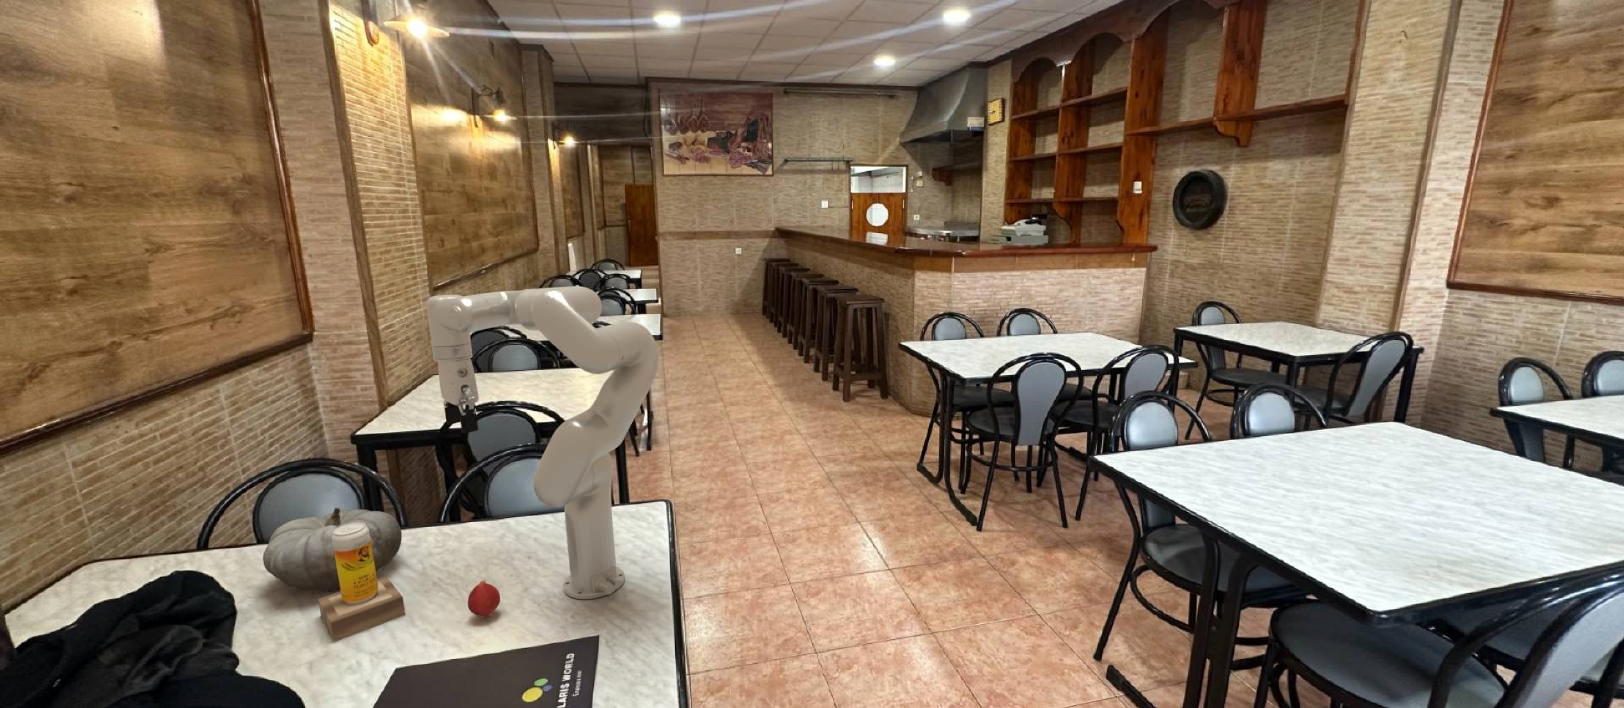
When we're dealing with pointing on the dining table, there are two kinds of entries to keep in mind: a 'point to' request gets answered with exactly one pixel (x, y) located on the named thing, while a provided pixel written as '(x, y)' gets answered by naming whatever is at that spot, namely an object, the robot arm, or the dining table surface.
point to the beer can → (355, 563)
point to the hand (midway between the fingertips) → (462, 427)
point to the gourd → (325, 547)
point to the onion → (483, 599)
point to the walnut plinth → (361, 611)
